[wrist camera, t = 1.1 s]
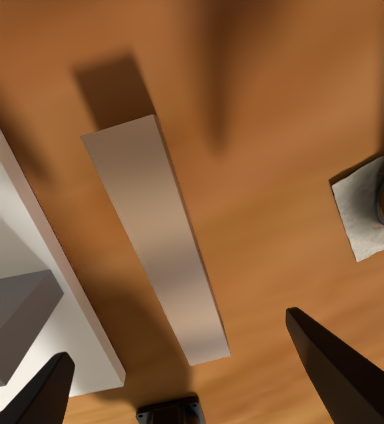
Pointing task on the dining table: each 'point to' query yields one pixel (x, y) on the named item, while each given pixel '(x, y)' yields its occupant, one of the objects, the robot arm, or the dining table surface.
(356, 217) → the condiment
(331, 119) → the dining table surface
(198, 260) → the walnut bar
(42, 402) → the robot arm
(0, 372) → the balance stand
